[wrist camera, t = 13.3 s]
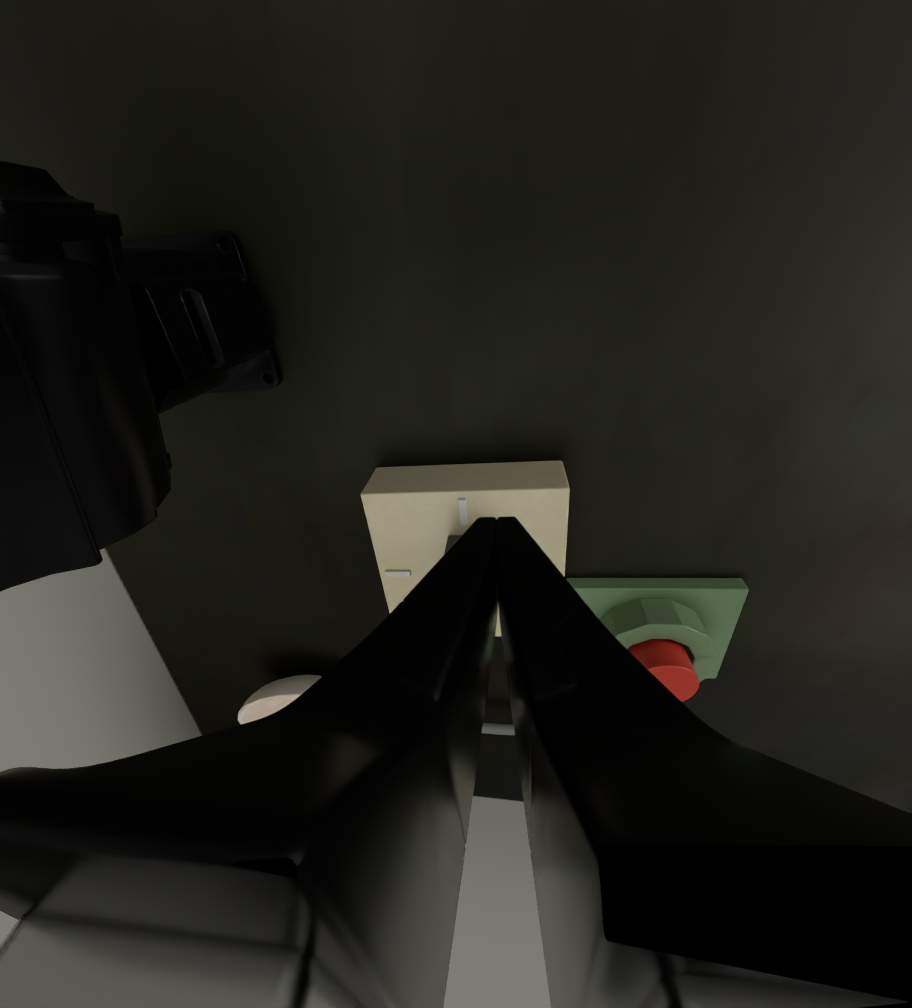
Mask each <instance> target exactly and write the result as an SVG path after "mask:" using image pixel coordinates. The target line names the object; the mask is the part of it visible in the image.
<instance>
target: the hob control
mask: <svg viewBox="0 0 912 1008" xmlns="http://www.w3.org/2000/svg"><path fill="white" fill-rule="evenodd" d="M569 494H570V488H569V484H568V480H567V477H566V473H565V469H564V465H563V462H562V461H561V460H560V461H533V462H506V463H480V464H453V465H427V466H400V467H377V468H376V469H375V471H374V473H373V474H372V476H371V478H370V479H369V481H368V483H367V484H366V486H365V488H364V489H363V491H362V493H361V498H362V503H363V507H364V511H365V515H366V519H367V523H368V527H369V531H370V535H371V539H372V543H373V547H374V551H375V555H376V560H377V564H378V568H379V572H380V576H381V580H382V584H383V588H384V592H385V596H386V600H387V604H388V608H389V612H390V613H391V612H392V611H393V610H394V609H395V608H396V607H397V606H398V604H399V603H400V602H402V601H403V599H404V598H405V597H406V596H407V595H408V594H409V593H410V592H411V590H412V589H413V588H414V587H415V586H416V585H417V584H418V583H419V582H420V581H421V579H422V578H423V577H424V576H425V575H426V574H427V573H428V572H429V571H430V570H431V569H432V567H433V566H434V565H435V564H436V563H437V562H438V561H439V560H440V559H441V558H442V557H443V555H444V553H445V548H446V543H447V538H448V536H449V535H463V534H464V532H465V531H466V530H467V529H468V528H469V527H470V526H471V525H472V524H473V523H474V521H475V520H476V519H477V518H479V517H495V518H496V519H497V518H498V517H510V516H514V517H516V518H517V519H518V521H519V522H520V523H521V524H522V525H523V527H524V528H525V529H526V530H527V532H528V533H529V534H530V535H531V536H532V538H533V539H534V540H535V541H536V543H537V544H538V545H539V546H540V548H541V549H542V550H543V551H544V552H545V554H546V555H547V556H548V557H549V559H550V560H551V561H552V562H553V564H554V565H555V566H556V567H557V568H558V570H559V571H560V572H561V573H562V575H563V576H564V577H565V561H566V544H567V528H568V511H569ZM495 636H501V628H500V620H499V607H498V617H497V625H496V633H495Z"/></svg>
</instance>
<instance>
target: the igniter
mask: <svg viewBox="0 0 912 1008" xmlns="http://www.w3.org/2000/svg"><path fill="white" fill-rule="evenodd" d="M566 579H567V581H568V582H569V583H570V584H571V586H572V587H573V588H574V589H575V591H576V592H577V593H578V594H579V595H580V597H581V598H582V599H583V600H584V603H586V604H587V605H588V606H589V608H590V609H591V610H592V611H593V613H594V614H595V615H596V616H597V617H598V619H599V620H600V621H601V622H602V623H603V624H604V625H605V627H606V628H607V629H608V630H609V631H610V632H611V633H612V634H613V635H614V637H615V638H616V639H617V640H618V641H619V642H620V643H621V644H622V645H623V646H624V647H625V648H626V649H628V648H629V647H630V646H631V645H634V644H637V643H640V642H643V641H646V640H649V639H671V640H674V641H676V642H678V643H679V644H680V645H682V646H683V647H684V649H685V650H686V653H687V655H688V657H689V659H690V661H691V664H692V666H693V668H694V670H695V672H696V675H697V677H698V679H699V683H700V682H701V681H702V680H704V679H705V678H716V676H717V674H718V671H719V668H720V666H721V663H722V660H723V658H724V655H725V652H726V650H727V647H728V644H729V642H730V639H731V636H732V634H733V631H734V628H735V626H736V623H737V620H738V618H739V615H740V612H741V610H742V607H743V604H744V602H745V599H746V596H747V594H748V591H749V588H748V587H747V586H746V584H745V583H744V582H743V580H742V579H741V578H566Z"/></svg>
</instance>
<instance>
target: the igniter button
mask: <svg viewBox="0 0 912 1008" xmlns="http://www.w3.org/2000/svg"><path fill="white" fill-rule="evenodd" d="M627 650H628V651H629V652H630V653H631V654H632V655H633V656H634V657H635V658H636V659H637V660H638V661H640V662H641V663H642V664H643V665H644V666H645V667H646V668H647V669H648V670H649V671H650V672H651V673H652V674H653V675H654V676H655V677H656V678H657V679H658V680H659V681H660V682H661V683H662V684H663V685H664V686H666V687H667V688H668V689H669V690H670V691H671V692H672V693H673V694H674V695H675V696H676V697H677V698H678V699H679V700H680V701H681V702H683V701H685V700H687V699H689V698H690V697H692V696H693V695H694V694H695V693H696V691H697V690H698V687H699V679H698V677H697V675H696V672H695V670H694V668H693V666H692V664H691V661H690V659H689V657H688V655H687V653H686V650H685V649H684V647H683V646H682V645H680V644H679V643H678V642H676V641H674V640H671V639H649V640H646V641H643V642H640V643H637V644H634V645H631V646H630V647H629V648H628V649H627Z"/></svg>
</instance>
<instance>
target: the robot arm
mask: <svg viewBox="0 0 912 1008" xmlns="http://www.w3.org/2000/svg"><path fill="white" fill-rule="evenodd" d="M119 236H123V233H122V228H121V224H120V219H119V215H118V214H113V213H109V212H105V211H100V210H96V209H95V207H94V203H90V202H86V201H82V200H78V199H74V197H73V196H69V195H68V194H67V193H66V192H65V191H64V190H63V189H62V188H61V187H60V185H59V184H58V183H57V182H56V181H55V180H54V179H53V178H52V177H51V175H50V174H49V173H48V172H47V171H46V170H44V169H40V168H35V167H31V166H26V165H21V164H16V163H10V162H5V161H0V591H3V590H5V589H8V588H10V587H13V586H16V585H20V584H23V583H26V582H29V581H32V580H35V579H39V578H42V577H45V576H48V575H51V574H56V573H61V572H66V571H71V570H76V569H81V568H86V567H91V566H95V565H98V564H99V563H101V562H102V556H101V554H100V551H99V550H101V549H103V548H105V547H107V546H109V545H111V544H113V543H115V542H117V541H119V540H122V539H124V538H126V537H128V536H130V535H133V534H135V533H136V532H138V531H139V530H141V529H142V528H143V527H145V526H146V525H148V524H149V523H151V522H152V521H153V520H155V519H156V517H157V511H156V508H157V507H158V506H159V505H160V504H161V503H162V501H163V500H164V498H165V497H166V496H167V494H168V493H169V491H170V490H171V474H170V469H171V468H172V463H171V458H170V454H169V453H166V449H165V444H164V440H163V435H162V430H161V426H160V421H159V417H158V414H160V413H162V412H164V411H166V410H169V409H171V408H173V407H175V406H177V405H179V404H181V403H184V402H186V401H188V400H190V399H192V398H194V397H196V396H199V395H201V394H203V393H212V392H227V391H242V390H257V389H271V388H275V387H276V386H278V385H279V384H280V383H281V380H282V378H281V373H280V370H279V367H278V363H277V360H276V357H275V354H274V350H273V347H272V346H273V344H274V342H273V338H272V335H271V332H270V329H269V325H268V322H267V319H266V315H265V312H264V309H263V306H262V302H261V299H260V296H259V293H258V289H257V286H256V285H255V284H254V283H253V282H252V279H251V276H250V272H249V269H248V266H247V263H246V259H245V256H244V253H243V250H242V246H241V243H240V241H239V239H238V238H237V236H236V235H235V234H233V233H232V232H230V231H222V230H218V231H211V232H203V233H195V234H187V235H179V236H171V237H163V238H155V239H148V240H140V241H132V242H124V243H121V242H120V237H119ZM225 239H227V240H228V241H229V243H230V250H229V251H228V250H227V249H226V248H225V246H224V240H225ZM267 373H269V374H270V375H271V376H272V377H273V381H270V380H269V379H268V377H267ZM498 607H499V620H500V628H501V636H502V643H503V651H504V658H505V666H506V673H507V681H508V688H509V696H510V703H511V710H512V718H513V725H514V733H515V740H516V748H517V755H518V763H519V770H520V778H521V785H522V793H523V800H524V807H525V815H526V823H527V830H528V838H529V845H530V850H531V859H532V867H533V875H534V883H535V890H536V898H537V905H538V913H539V920H540V928H541V935H542V943H543V950H544V958H545V965H546V972H547V980H548V987H549V994H550V1002H551V1008H912V814H911V813H908V812H906V811H903V810H900V809H898V808H895V807H893V806H890V805H888V804H885V803H883V802H880V801H878V800H876V799H873V798H871V797H868V796H866V795H863V794H861V793H858V792H856V791H853V790H851V789H848V788H846V787H843V786H841V785H838V784H836V783H833V782H831V781H829V780H826V779H824V778H821V777H819V776H816V775H814V774H811V773H809V772H806V771H804V770H801V769H799V768H796V767H794V766H791V765H789V764H786V763H784V762H781V761H779V760H777V759H774V758H772V757H769V756H767V755H764V754H762V753H759V752H757V751H754V750H752V749H749V748H747V747H744V746H742V745H740V744H738V743H735V742H733V741H731V740H730V739H728V738H726V737H724V736H723V735H721V734H720V733H718V732H717V731H715V730H714V729H712V728H711V727H710V726H708V725H707V724H706V723H705V722H703V721H702V720H701V719H699V718H698V717H697V716H696V715H695V714H694V713H693V712H692V711H691V710H689V709H688V708H687V707H686V706H685V705H684V704H683V703H682V702H681V701H680V700H679V699H678V698H677V697H676V696H675V695H674V694H673V693H672V692H671V691H670V690H669V689H668V688H667V687H666V686H664V685H663V684H662V683H661V682H660V681H659V680H658V679H657V678H656V677H655V676H654V675H653V674H652V673H651V672H650V671H649V670H648V669H647V668H646V667H645V666H644V665H643V664H642V663H641V662H640V661H638V660H637V659H636V658H635V657H634V656H633V655H632V654H631V653H630V652H629V651H628V650H627V649H626V648H625V647H624V646H623V645H622V644H621V643H620V642H619V641H618V640H617V639H616V638H615V637H614V635H613V634H612V633H611V632H610V631H609V630H608V629H607V628H606V627H605V625H604V624H603V623H602V622H601V621H600V620H599V619H598V617H597V616H596V615H595V614H594V613H593V611H592V610H591V609H590V608H589V606H588V605H587V604H586V603H584V600H583V599H582V598H581V597H580V595H579V594H578V593H577V592H576V591H575V589H574V588H573V587H572V586H571V584H570V583H569V582H568V581H567V579H566V578H565V577H564V576H563V575H562V573H561V572H560V571H559V570H558V568H557V567H556V566H555V565H554V564H553V562H552V561H551V560H550V559H549V557H548V556H547V555H546V554H545V552H544V551H543V550H542V549H541V548H540V546H539V545H538V544H537V543H536V541H535V540H534V539H533V538H532V536H531V535H530V534H529V533H528V532H527V530H526V529H525V528H524V527H523V525H522V524H521V523H520V522H519V521H518V519H517V518H516V517H514V516H510V517H498V518H497V519H496V518H495V517H479V518H477V519H476V520H475V521H474V523H473V524H472V525H471V526H470V527H469V528H468V529H467V530H466V531H465V532H464V534H463V535H462V536H461V537H460V538H459V539H458V540H457V541H456V542H455V543H454V544H453V546H452V547H451V548H450V549H449V550H448V551H447V552H446V553H445V554H444V555H443V557H442V558H441V559H440V560H439V561H438V562H437V563H436V564H435V565H434V566H433V567H432V569H431V570H430V571H429V572H428V573H427V574H426V575H425V576H424V577H423V578H422V579H421V581H420V582H419V583H418V584H417V585H416V586H415V587H414V588H413V589H412V590H411V592H410V593H409V594H408V595H407V596H406V597H405V598H404V599H403V601H402V602H400V603H399V604H398V606H397V607H396V608H395V609H394V610H393V611H392V612H391V613H390V614H389V615H388V616H387V617H386V618H385V619H384V620H383V621H382V622H381V623H380V624H379V626H378V627H377V628H376V629H375V630H374V631H372V632H371V633H370V634H369V635H368V636H367V637H366V638H365V639H364V640H363V641H362V642H360V643H359V644H358V645H357V646H356V647H355V648H354V649H353V650H352V651H351V652H349V653H348V654H347V655H346V656H345V657H344V658H343V659H341V660H340V661H339V662H338V663H337V664H336V665H335V666H333V667H332V668H331V669H330V670H329V671H328V672H327V673H325V674H324V675H323V676H322V677H321V678H320V679H319V680H317V681H316V682H315V683H314V684H313V685H312V686H311V687H309V688H308V689H307V690H306V691H305V692H304V693H303V694H301V695H300V696H299V697H298V698H296V699H295V700H294V701H292V702H291V703H290V704H288V705H287V706H285V707H284V708H282V709H280V710H278V711H277V712H275V713H273V714H271V715H268V716H266V717H264V718H261V719H258V720H255V721H252V722H248V723H245V724H241V725H238V726H234V727H231V728H227V729H224V730H220V731H217V732H214V733H210V734H207V735H203V736H200V737H196V738H193V739H190V740H186V741H183V742H179V743H176V744H172V745H169V746H165V747H162V748H159V749H155V750H151V751H148V752H145V753H142V754H138V755H135V756H131V757H127V758H123V759H119V760H115V761H111V762H107V763H101V764H97V765H92V766H87V767H78V768H69V769H48V768H36V767H19V768H12V769H8V770H5V771H2V772H0V911H2V912H4V913H6V914H8V915H10V916H12V917H14V918H16V919H18V922H17V923H16V924H15V926H14V927H13V928H12V930H11V931H10V933H9V934H8V935H7V937H6V938H5V939H4V941H3V942H2V944H1V945H0V1008H443V1006H444V998H445V991H446V984H447V977H448V970H449V963H450V962H449V961H450V955H451V948H452V941H453V934H454V927H455V920H456V912H457V905H458V897H459V891H460V884H461V877H462V870H463V863H464V855H465V844H466V840H467V833H468V826H469V818H470V811H471V804H472V797H473V790H474V783H475V776H476V769H477V762H478V754H479V747H480V740H481V733H482V726H483V719H484V711H485V704H486V697H487V690H488V683H489V676H490V668H491V661H492V654H493V647H494V640H495V633H496V625H497V617H498Z"/></svg>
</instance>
